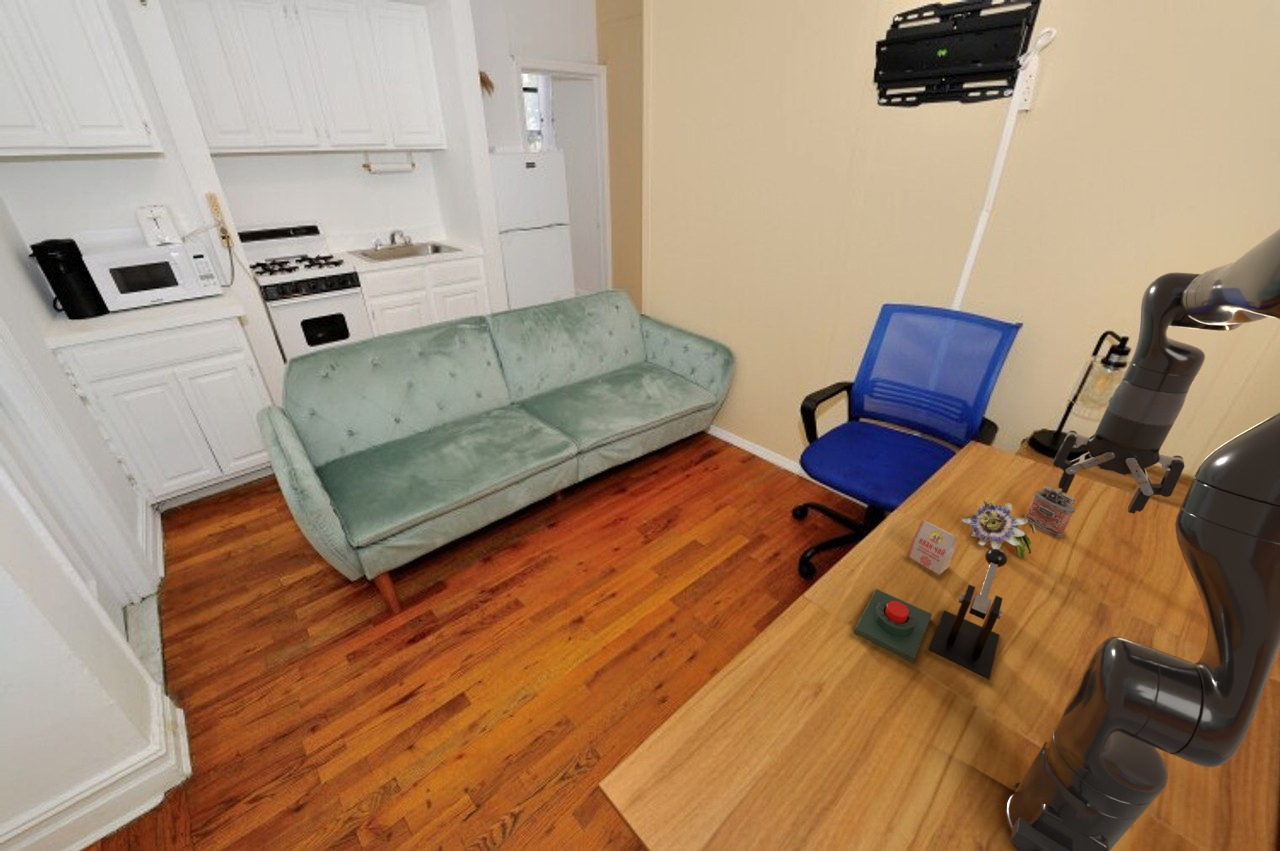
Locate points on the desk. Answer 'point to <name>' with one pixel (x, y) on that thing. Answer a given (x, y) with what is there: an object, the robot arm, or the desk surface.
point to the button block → (893, 627)
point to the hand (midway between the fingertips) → (1096, 500)
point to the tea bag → (932, 547)
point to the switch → (987, 582)
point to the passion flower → (999, 527)
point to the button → (896, 612)
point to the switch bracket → (968, 637)
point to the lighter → (1050, 511)
